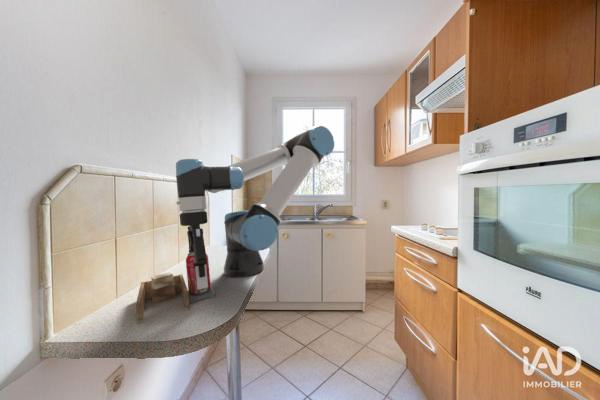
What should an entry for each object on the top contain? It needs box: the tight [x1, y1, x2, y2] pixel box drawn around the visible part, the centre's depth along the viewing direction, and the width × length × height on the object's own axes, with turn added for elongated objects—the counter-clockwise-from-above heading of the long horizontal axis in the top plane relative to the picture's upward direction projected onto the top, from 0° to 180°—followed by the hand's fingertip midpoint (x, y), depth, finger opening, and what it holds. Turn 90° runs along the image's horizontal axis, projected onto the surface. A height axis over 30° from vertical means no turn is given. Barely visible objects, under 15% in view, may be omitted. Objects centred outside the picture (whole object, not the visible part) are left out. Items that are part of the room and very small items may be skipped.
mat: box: [188, 287, 216, 304], centre depth 73 cm, size 7×9×1 cm
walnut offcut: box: [151, 281, 177, 304], centre depth 73 cm, size 6×4×4 cm, turn 120°
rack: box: [136, 273, 190, 324], centre depth 68 cm, size 11×18×5 cm, turn 30°
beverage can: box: [185, 252, 212, 295], centre depth 74 cm, size 6×6×12 cm
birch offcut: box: [150, 272, 174, 289], centre depth 73 cm, size 5×3×3 cm
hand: (199, 281), depth 73 cm, fingers open, 13 cm apart
